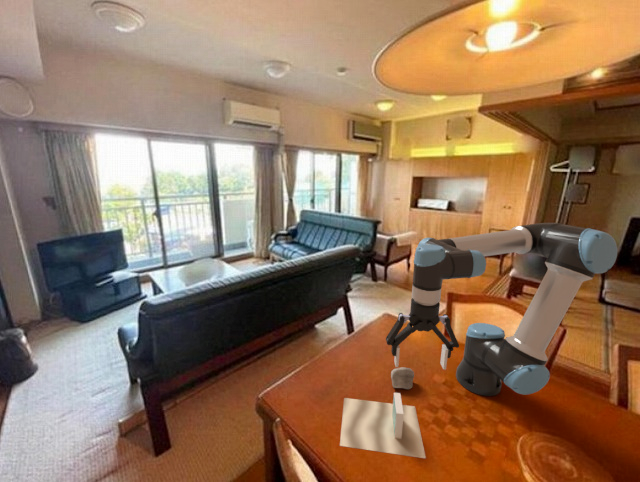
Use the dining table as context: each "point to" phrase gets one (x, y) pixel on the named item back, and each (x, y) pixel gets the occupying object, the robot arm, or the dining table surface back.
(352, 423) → the cloth
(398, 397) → the tile
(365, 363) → the dining table surface
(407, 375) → the stone
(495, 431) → the dining table surface
